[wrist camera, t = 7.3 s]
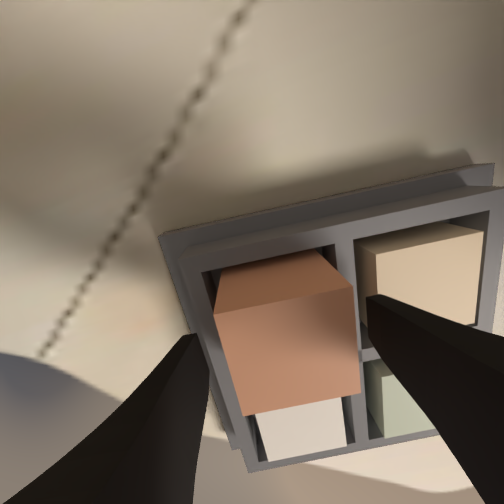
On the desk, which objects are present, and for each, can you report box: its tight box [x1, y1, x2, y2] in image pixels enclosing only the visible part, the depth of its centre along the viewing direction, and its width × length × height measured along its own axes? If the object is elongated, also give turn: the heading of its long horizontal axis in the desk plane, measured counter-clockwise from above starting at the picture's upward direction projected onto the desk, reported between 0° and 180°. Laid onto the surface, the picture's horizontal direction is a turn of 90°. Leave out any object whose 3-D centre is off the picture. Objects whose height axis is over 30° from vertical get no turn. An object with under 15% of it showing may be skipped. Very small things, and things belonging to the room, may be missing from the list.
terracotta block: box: [213, 248, 361, 416], centre depth 11 cm, size 5×5×5 cm
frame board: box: [158, 163, 504, 473], centre depth 13 cm, size 17×16×4 cm
